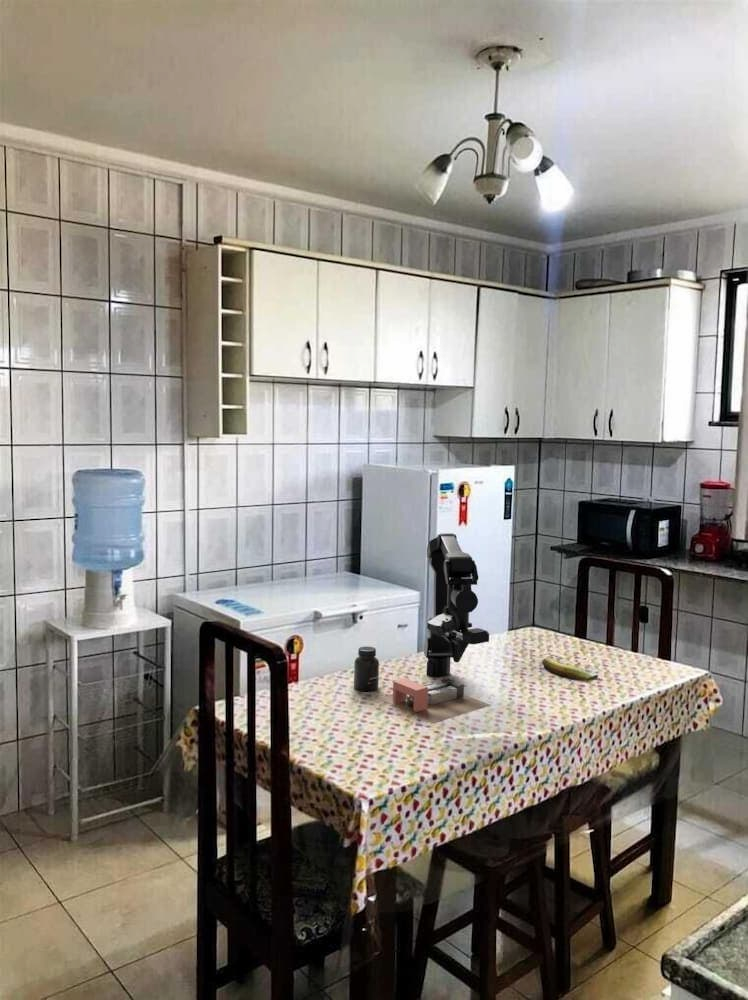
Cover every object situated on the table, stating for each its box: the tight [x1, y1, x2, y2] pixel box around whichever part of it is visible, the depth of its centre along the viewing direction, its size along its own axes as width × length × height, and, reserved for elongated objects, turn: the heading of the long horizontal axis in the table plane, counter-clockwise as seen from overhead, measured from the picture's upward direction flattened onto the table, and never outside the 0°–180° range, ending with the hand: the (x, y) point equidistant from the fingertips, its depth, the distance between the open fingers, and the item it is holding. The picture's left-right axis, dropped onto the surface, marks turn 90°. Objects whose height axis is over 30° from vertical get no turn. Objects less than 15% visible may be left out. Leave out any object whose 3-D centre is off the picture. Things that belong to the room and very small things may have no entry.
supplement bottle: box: [353, 646, 380, 693], centre depth 230 cm, size 7×7×12 cm
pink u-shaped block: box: [392, 677, 428, 712], centre depth 216 cm, size 4×9×6 cm, turn 40°
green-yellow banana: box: [540, 653, 599, 691], centre depth 249 cm, size 35×27×4 cm
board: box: [376, 682, 491, 724], centre depth 221 cm, size 21×22×1 cm
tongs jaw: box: [428, 681, 465, 705], centre depth 220 cm, size 15×3×3 cm, turn 127°
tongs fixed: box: [407, 677, 455, 707], centre depth 222 cm, size 16×4×4 cm, turn 130°
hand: (456, 662), depth 218 cm, fingers closed
